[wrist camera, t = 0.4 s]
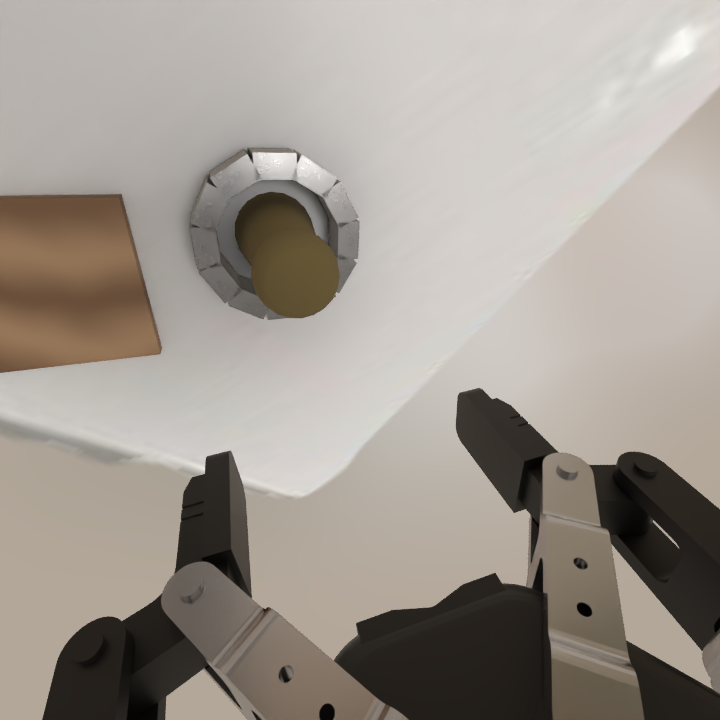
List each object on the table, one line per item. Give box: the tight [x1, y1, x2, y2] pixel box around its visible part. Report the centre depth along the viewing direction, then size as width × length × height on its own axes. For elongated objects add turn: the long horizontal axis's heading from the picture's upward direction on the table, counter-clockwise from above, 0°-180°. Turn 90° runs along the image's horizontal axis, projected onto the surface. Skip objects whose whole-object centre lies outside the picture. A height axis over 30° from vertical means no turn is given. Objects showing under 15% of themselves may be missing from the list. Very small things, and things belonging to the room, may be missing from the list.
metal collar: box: [190, 148, 359, 320], centre depth 30 cm, size 12×12×3 cm
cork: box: [235, 192, 340, 318], centre depth 27 cm, size 6×6×11 cm
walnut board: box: [0, 194, 161, 373], centre depth 28 cm, size 12×12×1 cm
